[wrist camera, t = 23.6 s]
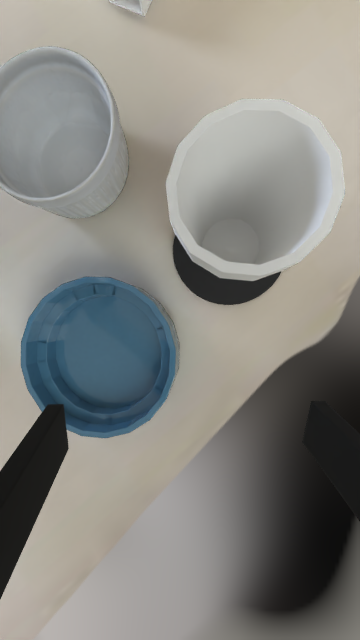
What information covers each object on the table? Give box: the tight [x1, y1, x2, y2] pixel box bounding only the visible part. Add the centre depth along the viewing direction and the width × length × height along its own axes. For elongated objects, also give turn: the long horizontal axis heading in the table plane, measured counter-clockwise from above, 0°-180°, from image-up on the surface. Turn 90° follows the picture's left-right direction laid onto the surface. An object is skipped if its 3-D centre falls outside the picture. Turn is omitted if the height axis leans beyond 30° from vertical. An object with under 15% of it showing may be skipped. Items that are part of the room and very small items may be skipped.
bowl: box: [21, 277, 180, 438], centre depth 26 cm, size 16×16×4 cm
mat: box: [173, 235, 281, 305], centre depth 26 cm, size 12×12×1 cm
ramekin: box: [0, 46, 129, 218], centre depth 25 cm, size 13×13×7 cm
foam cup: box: [165, 99, 345, 281], centre depth 20 cm, size 10×9×13 cm
